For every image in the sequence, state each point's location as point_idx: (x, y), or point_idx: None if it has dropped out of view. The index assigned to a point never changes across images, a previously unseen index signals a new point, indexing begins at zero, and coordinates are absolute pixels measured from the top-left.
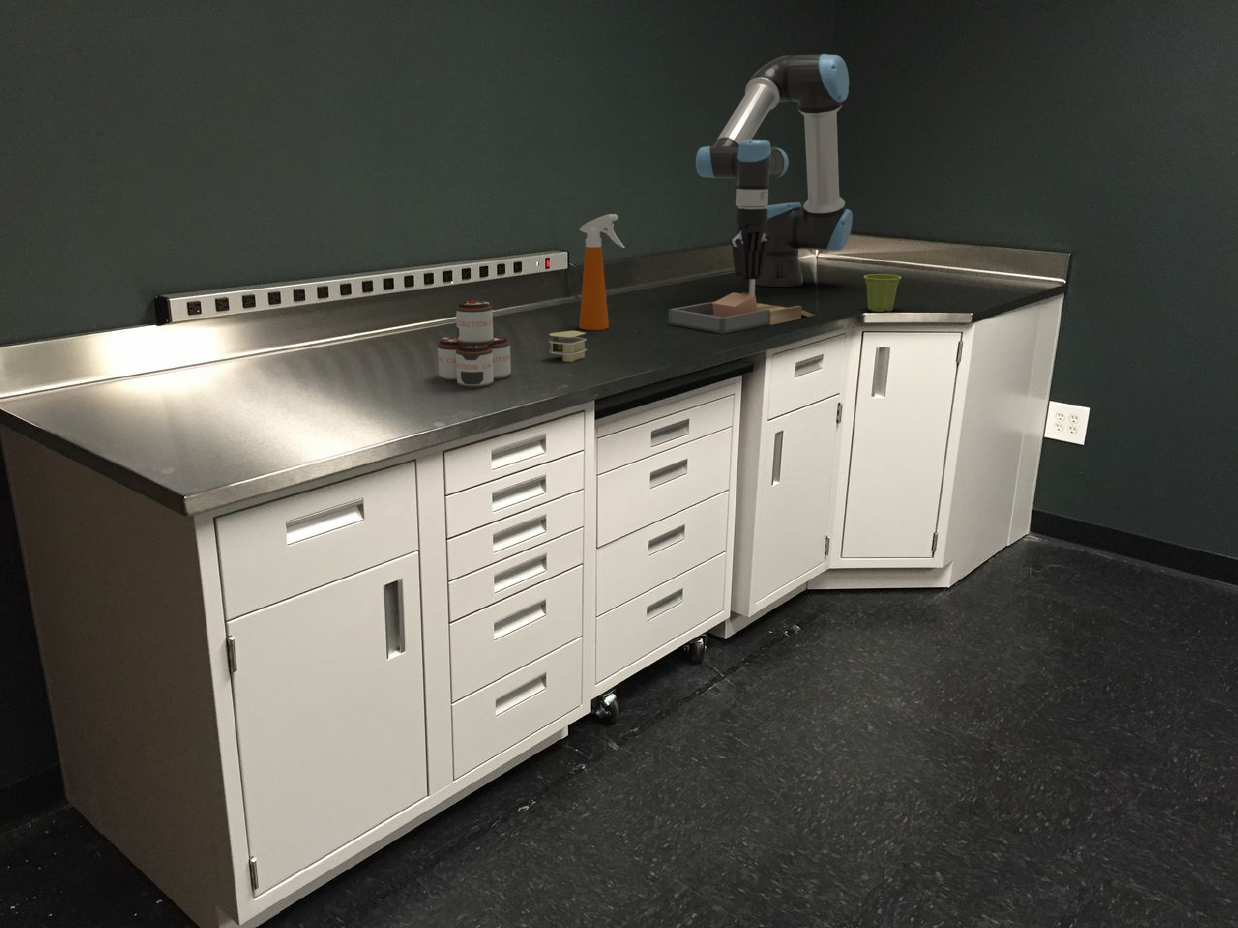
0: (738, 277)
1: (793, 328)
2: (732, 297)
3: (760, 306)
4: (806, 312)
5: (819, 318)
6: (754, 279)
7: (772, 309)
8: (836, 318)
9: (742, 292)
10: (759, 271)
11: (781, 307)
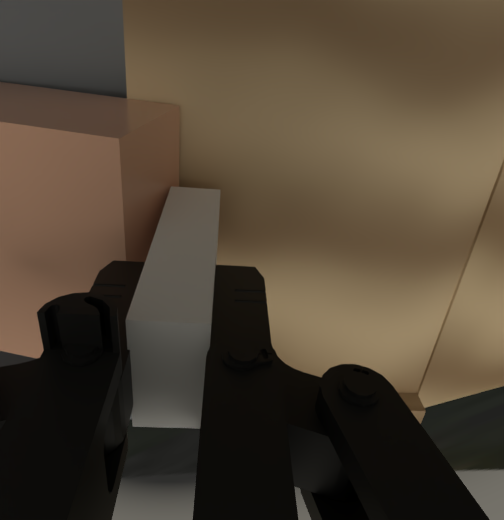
0: (49, 308)
1: (162, 455)
2: (7, 212)
3: (406, 184)
4: (449, 397)
5: (448, 420)
6: (197, 426)
7: (344, 300)
8: (485, 458)
9: (115, 266)
10: (308, 505)
11: (444, 301)
